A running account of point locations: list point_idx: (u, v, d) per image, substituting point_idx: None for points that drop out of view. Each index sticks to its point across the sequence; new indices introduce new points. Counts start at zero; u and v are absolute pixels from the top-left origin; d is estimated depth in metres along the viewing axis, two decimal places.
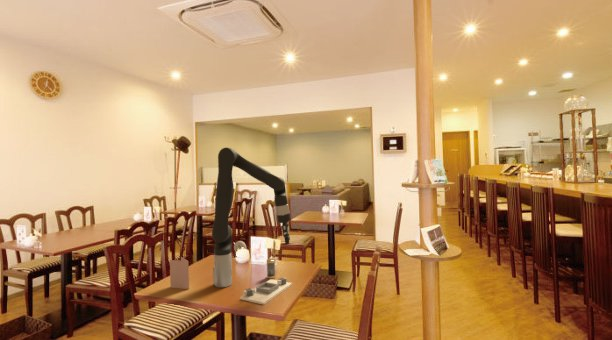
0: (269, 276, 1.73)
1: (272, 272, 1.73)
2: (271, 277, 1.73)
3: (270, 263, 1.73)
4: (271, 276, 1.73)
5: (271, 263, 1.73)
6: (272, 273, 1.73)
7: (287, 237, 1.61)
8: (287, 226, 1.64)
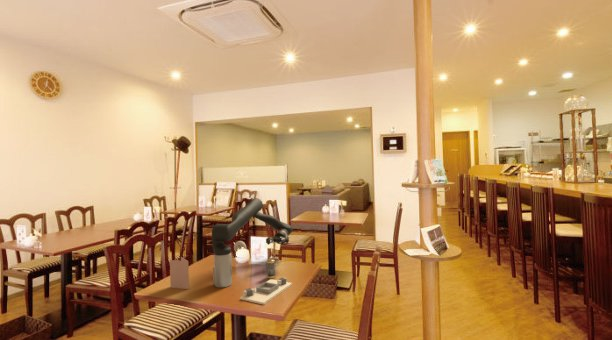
0: (269, 276, 1.73)
1: (272, 272, 1.73)
2: (271, 277, 1.73)
3: (270, 263, 1.73)
4: (271, 276, 1.73)
5: (271, 263, 1.73)
6: (272, 273, 1.73)
7: (284, 242, 1.89)
8: None
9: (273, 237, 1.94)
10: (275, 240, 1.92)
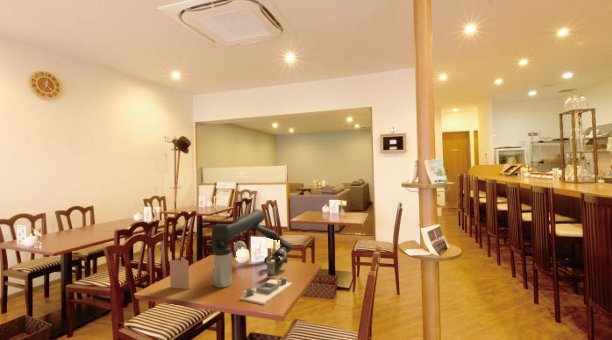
0: (269, 276, 1.73)
1: (272, 272, 1.73)
2: (271, 277, 1.73)
3: (270, 263, 1.73)
4: (271, 276, 1.73)
5: (271, 263, 1.73)
6: (272, 273, 1.73)
7: (283, 262, 1.84)
8: (280, 261, 1.90)
9: (271, 257, 1.89)
10: None
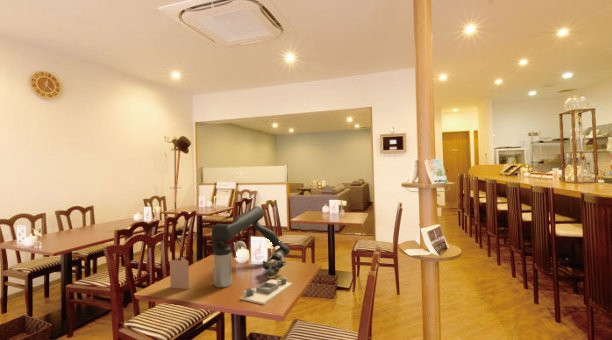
0: (269, 276, 1.73)
1: (272, 272, 1.73)
2: (271, 277, 1.73)
3: (270, 263, 1.73)
4: (271, 276, 1.73)
5: (271, 263, 1.73)
6: (272, 273, 1.73)
7: (276, 267, 1.75)
8: None
9: None
10: None
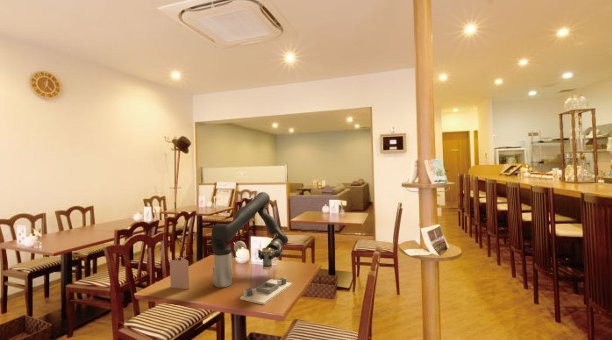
0: (265, 266, 1.53)
1: (268, 262, 1.53)
2: (267, 268, 1.53)
3: (266, 252, 1.53)
4: (267, 266, 1.53)
5: (267, 252, 1.53)
6: (268, 263, 1.53)
7: (273, 257, 1.56)
8: None
9: None
10: None
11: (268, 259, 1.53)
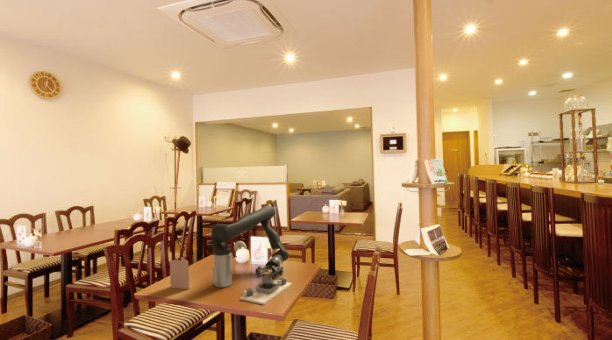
0: None
1: (269, 284, 1.53)
2: None
3: (266, 274, 1.52)
4: None
5: (267, 274, 1.52)
6: (269, 285, 1.53)
7: None
8: None
9: (264, 267, 1.60)
10: None
11: (268, 281, 1.52)
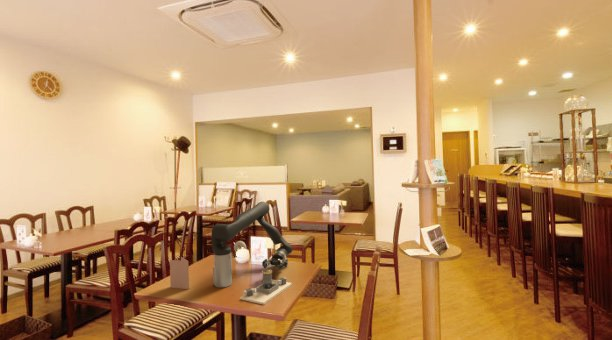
0: None
1: (269, 284, 1.53)
2: None
3: (266, 274, 1.52)
4: None
5: (267, 274, 1.52)
6: (269, 285, 1.53)
7: (283, 266, 1.68)
8: (279, 264, 1.74)
9: None
10: (272, 263, 1.72)
11: (268, 281, 1.52)
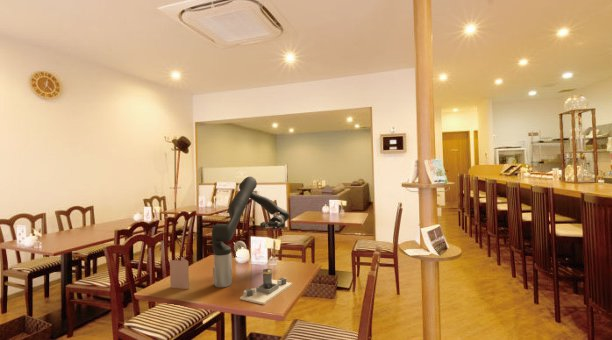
0: None
1: (269, 284, 1.53)
2: None
3: (266, 274, 1.52)
4: None
5: (267, 274, 1.52)
6: (269, 285, 1.53)
7: (280, 227, 1.73)
8: None
9: None
10: (270, 225, 1.76)
11: (268, 281, 1.52)
